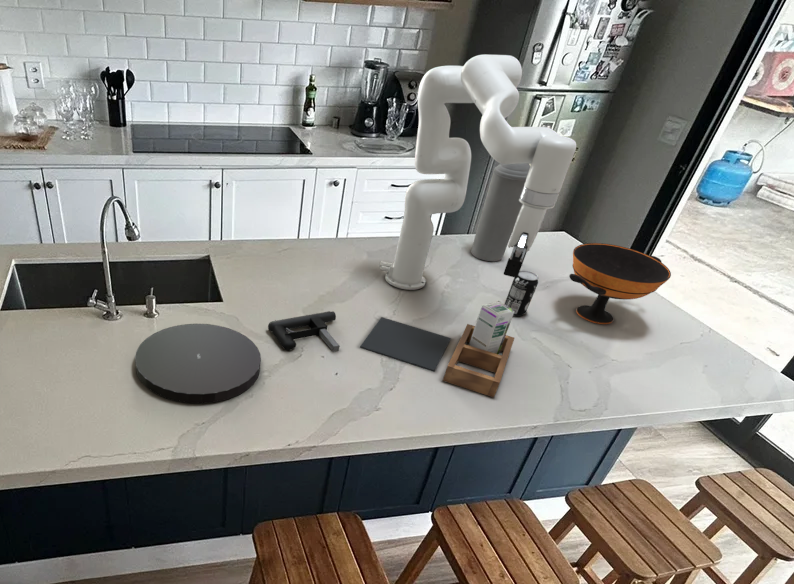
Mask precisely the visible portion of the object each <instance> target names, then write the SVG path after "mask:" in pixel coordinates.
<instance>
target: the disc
mask: <svg viewBox="0 0 794 584" xmlns="http://www.w3.org/2000/svg"><path fill="white" fill-rule="evenodd" d="M261 358H262V357H261V353H260V350H259V347H258V346H257V344H255V342H254V341H252V340H251V339H250V338H249V337H248V336H246V335H244V334H243V333H241V332H239V331H238V330H235V329H232V328H230V327H226V326H222V325H218V324H210V323H183V324H178V325H173V326H169V327H165V328H163V329H161V330H157V331H156V332H154V333H152V334H151V335H149V336H147V337H146V338H145V339H143V341H142V342H141V343H139V346H138V348H137V349H136V351H135V355H134V362H135V366H136V367H135V368H136V375H137V377H138V379H139V381H140V382H141V384H143V386H144V387H145V388H147V390H149V391H151V392H153V393H154V394H155V395H158V396H159V397H162V398H164V399H168V400H170V401H175V402H179V403H186V404H210V403H212V404H213V403H218V402H223V401H226V400H229V399H232V398H235V397H237V396H239V395H241V394H242V393H244V392H246V391H248V390H249V389H250V388H251V387H252V386H253V385H254V384H255V382H256V381H257V380H258V379H259V374H260V372H261V363H262V359H261Z"/></svg>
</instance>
